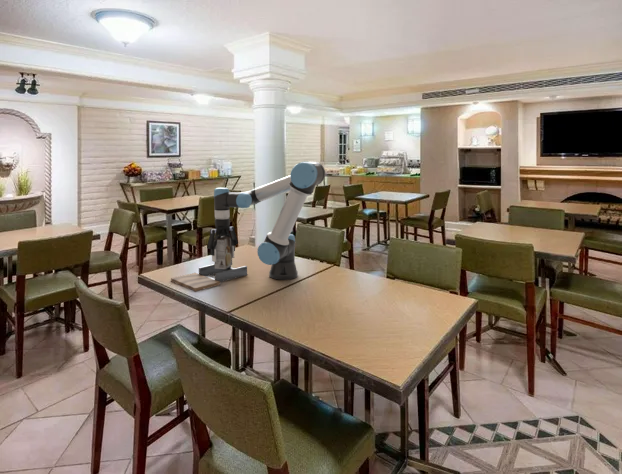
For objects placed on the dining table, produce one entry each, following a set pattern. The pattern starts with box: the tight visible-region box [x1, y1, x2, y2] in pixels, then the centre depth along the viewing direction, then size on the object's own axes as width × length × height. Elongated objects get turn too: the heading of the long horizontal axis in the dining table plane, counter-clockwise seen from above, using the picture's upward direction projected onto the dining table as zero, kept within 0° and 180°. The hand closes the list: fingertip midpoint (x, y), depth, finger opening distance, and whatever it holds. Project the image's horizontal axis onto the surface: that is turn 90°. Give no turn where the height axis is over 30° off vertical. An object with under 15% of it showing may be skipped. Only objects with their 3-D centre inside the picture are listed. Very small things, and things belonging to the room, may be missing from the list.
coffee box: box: [214, 235, 233, 269], centre depth 216 cm, size 9×6×16 cm
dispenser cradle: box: [198, 263, 248, 283], centre depth 219 cm, size 15×20×5 cm
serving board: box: [170, 272, 221, 292], centre depth 206 cm, size 22×14×2 cm, turn 49°
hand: (223, 259), depth 217 cm, fingers closed on coffee box, 11 cm apart
